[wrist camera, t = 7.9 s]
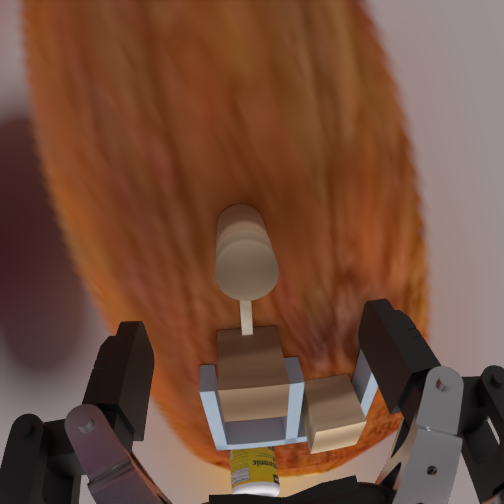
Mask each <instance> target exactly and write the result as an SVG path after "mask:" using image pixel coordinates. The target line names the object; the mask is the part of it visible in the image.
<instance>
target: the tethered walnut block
mask: <svg viewBox="0 0 504 504" xmlns="http://www.w3.org/2000/svg"><path fill="white" fill-rule="evenodd" d="M278 277H279V267H278V264H277V261H276V258H275V254H274V251H273V248H272V245H271V242H270V239H269V236H268V233H267V230H266V227H265V224H264V221H263V218H262V216H261V214H260V213H259V212H258V211H257V210H256V209H255V208H254V207H252V206H250V205H246V204H235V205H232V206H229V207H228V208H226V209H225V210H224V211H223V212H222V213H221V214H220V216H219V218H218V221H217V232H216V265H215V278H216V282H217V285H218V286H219V288H220V289H221V291H222V292H223V293H224V294H226V295H227V296H229V297H231V298H233V299H236V300H239V301H240V314H241V326H242V328H241V329H229V330H217V354H218V393H219V398H220V402H221V407H222V412H223V417H224V421H225V422H229V421H243V420H254V419H265V418H273V417H282V416H287V413H288V401H289V388H290V382H289V378H288V374H287V370H286V365H285V361H284V357H283V352H282V348H281V344H280V339H279V335H278V331H277V327H276V325H274V326H264V327H252V308H251V300H256V299H259V298H261V297H263V296H265V295H267V294H268V293H269V292H270V291H271V290H272V289H273V288H274V287H275V285H276V283H277V281H278Z"/></svg>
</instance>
